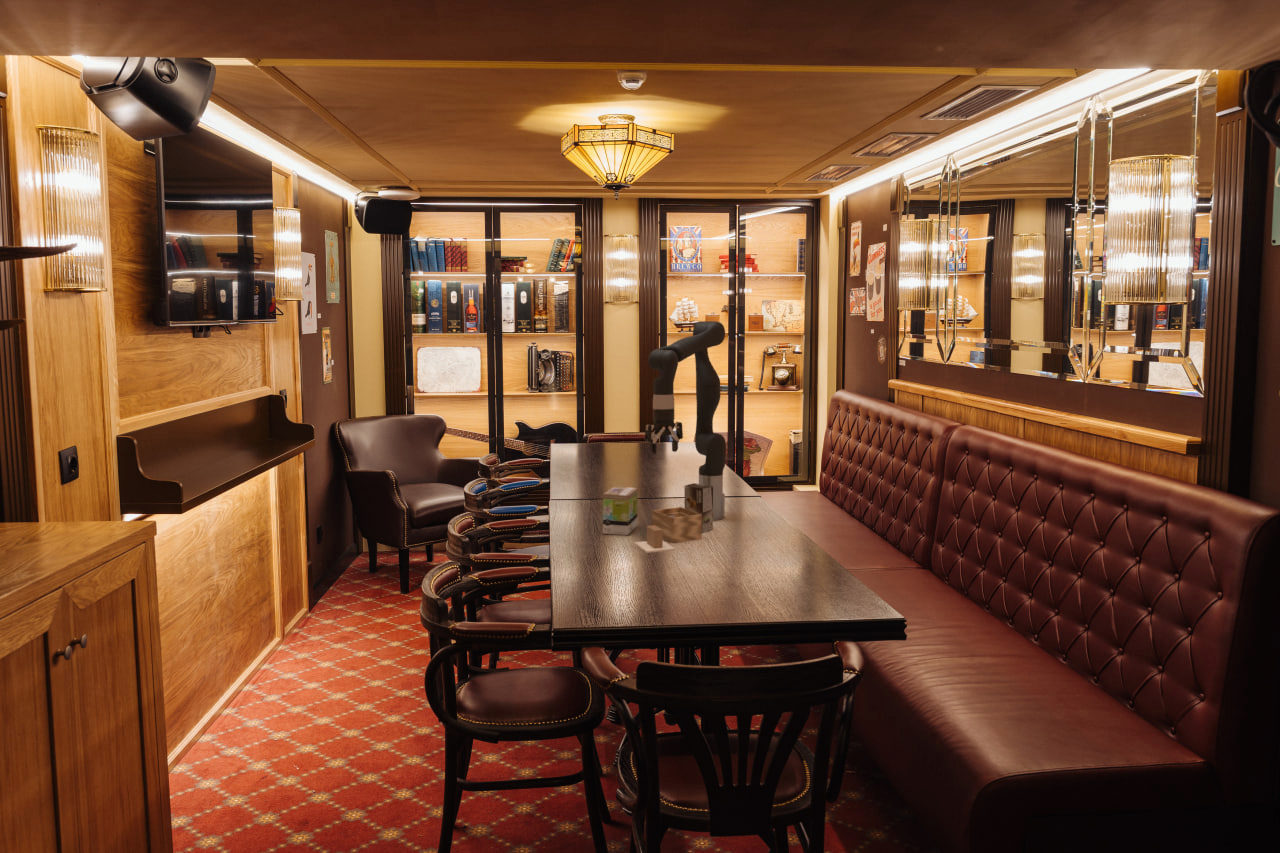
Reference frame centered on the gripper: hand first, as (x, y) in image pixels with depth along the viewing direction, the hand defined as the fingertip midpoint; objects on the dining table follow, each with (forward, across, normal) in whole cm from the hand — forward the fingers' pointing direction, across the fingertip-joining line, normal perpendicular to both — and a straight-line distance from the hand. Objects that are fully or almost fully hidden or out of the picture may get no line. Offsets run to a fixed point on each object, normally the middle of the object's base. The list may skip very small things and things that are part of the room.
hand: (664, 452), depth 312 cm
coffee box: (+30, -14, 0) cm, 33 cm away
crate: (+29, -2, +6) cm, 30 cm away
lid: (+30, +13, +14) cm, 35 cm away
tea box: (+29, +11, -13) cm, 34 cm away
